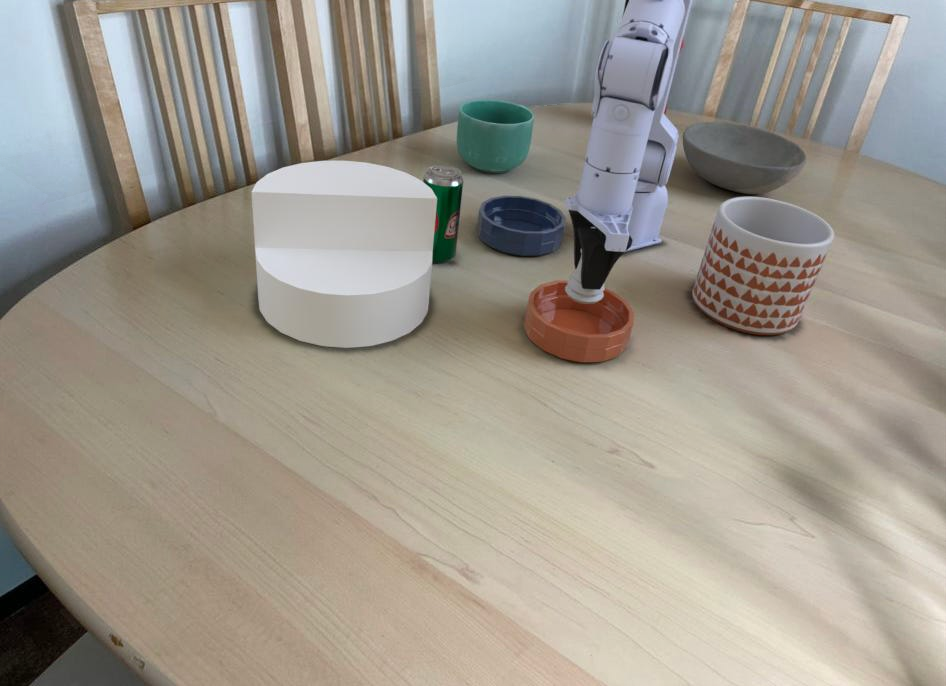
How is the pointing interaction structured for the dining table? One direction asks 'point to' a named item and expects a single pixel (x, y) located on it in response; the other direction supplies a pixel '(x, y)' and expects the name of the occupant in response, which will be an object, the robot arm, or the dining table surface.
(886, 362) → the dining table surface
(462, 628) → the dining table surface
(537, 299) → the terracotta bowl
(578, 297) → the rook chess piece
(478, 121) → the mug
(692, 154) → the bowl
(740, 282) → the planter
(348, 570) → the dining table surface
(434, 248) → the soda can
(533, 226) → the slate bowl
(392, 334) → the stepped white cylinder
